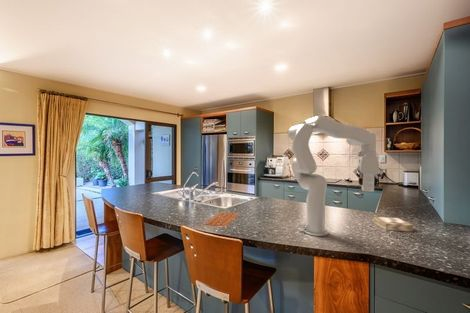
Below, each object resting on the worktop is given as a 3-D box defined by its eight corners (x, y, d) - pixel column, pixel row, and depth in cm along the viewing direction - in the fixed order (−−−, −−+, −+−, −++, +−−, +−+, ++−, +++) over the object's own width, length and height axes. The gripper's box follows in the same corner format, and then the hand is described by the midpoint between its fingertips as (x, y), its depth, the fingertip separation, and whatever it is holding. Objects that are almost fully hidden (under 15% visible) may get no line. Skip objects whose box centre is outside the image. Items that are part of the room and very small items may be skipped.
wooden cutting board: (239, 215, 158) (239, 213, 158) (226, 228, 129) (226, 225, 129) (220, 213, 162) (220, 211, 162) (203, 226, 133) (203, 223, 133)
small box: (361, 189, 134) (361, 171, 134) (372, 190, 131) (372, 172, 131) (362, 191, 126) (362, 172, 126) (374, 191, 124) (374, 173, 124)
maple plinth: (385, 230, 125) (385, 223, 125) (374, 222, 138) (374, 216, 138) (413, 231, 123) (413, 224, 123) (398, 223, 136) (398, 217, 136)
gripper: (354, 154, 126) (354, 185, 126) (387, 154, 124) (387, 186, 124) (349, 154, 134) (349, 183, 134) (381, 154, 131) (380, 184, 131)
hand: (367, 184), depth 129 cm, fingers closed on small box, 6 cm apart
